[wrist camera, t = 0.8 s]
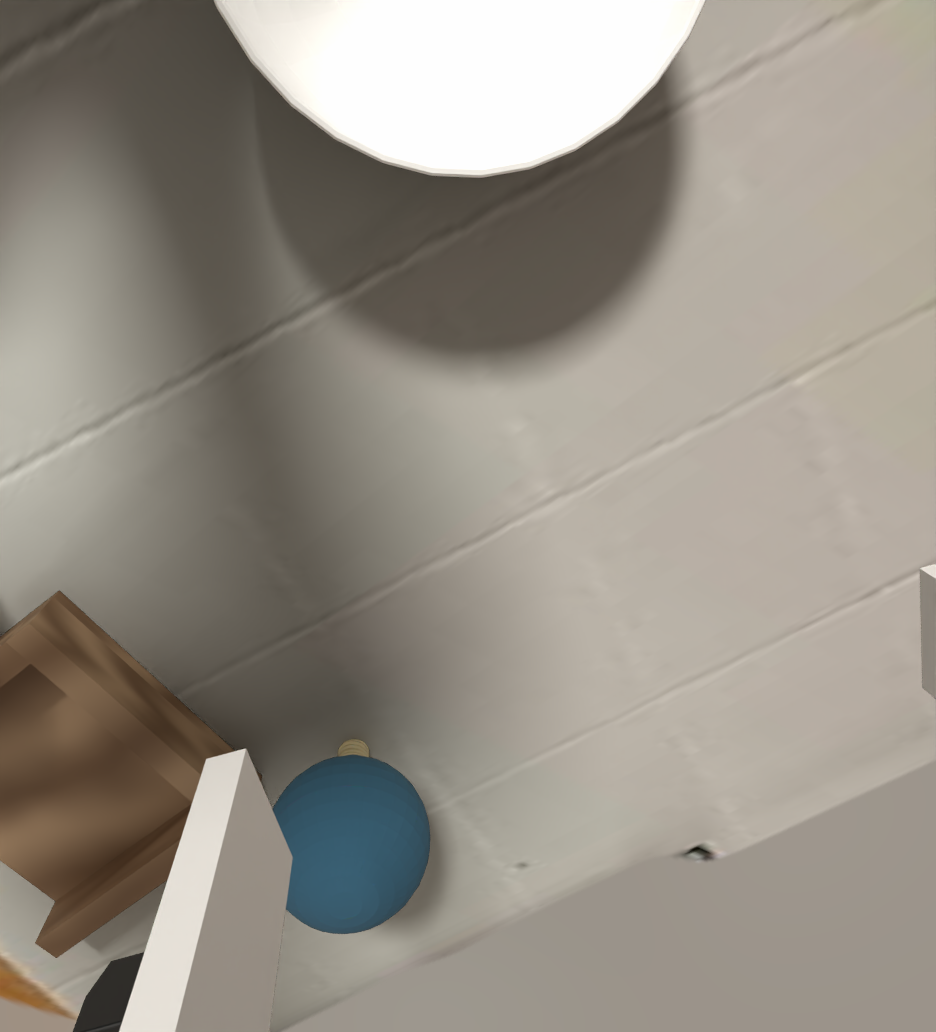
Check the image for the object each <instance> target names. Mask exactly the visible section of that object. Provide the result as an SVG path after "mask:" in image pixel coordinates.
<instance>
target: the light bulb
mask: <svg viewBox="0 0 936 1032" xmlns="http://www.w3.org/2000/svg"><path fill="white" fill-rule="evenodd" d="M273 812H274V815H275V817H276V819H277V822H278V824H279V826H280V829H281V831H282V833H283V836H284V838H285V840H286V843H287V845H288V847H289V850H290V852H291V854H292V857H293V859H292V866H291V874H290V881H289V889H288V896H287V903H286V910H287V911H289V912H290V913H291V914H292V915H293V916H294V917H296V918H297V919H298V920H300V921H301V922H302V923H304V924H306V925H308V926H310V927H311V928H314V929H317V930H320V931H323V932H328V933H335V934H348V933H357V932H361V931H365V930H368V929H371V928H373V927H375V926H378V925H380V924H381V923H383V922H384V921H386V920H387V919H389V918H390V917H392V916H393V915H395V914H396V913H397V912H398V911H399V910H400V909H401V908H402V907H403V906H405V905H406V903H407V902H408V900H409V899H410V897H411V896H412V895H413V893H414V892H415V890H416V889H417V887H418V886H419V884H420V882H421V879H422V877H423V874H424V872H425V869H426V866H427V863H428V857H429V851H430V828H429V822H428V817H427V813H426V810H425V807H424V804H423V802H422V800H421V799H420V797H419V795H418V793H417V792H416V790H415V789H414V787H413V785H412V784H411V783H410V782H409V781H408V780H407V779H406V778H405V777H404V776H403V775H402V774H401V773H400V772H398V771H397V770H396V769H394V768H393V767H391V766H390V765H388V764H386V763H384V762H382V761H379V760H377V759H374V758H369V748H368V746H367V745H366V744H365V743H364V742H362V741H360V740H356V739H352V740H348V741H345V742H344V743H342V745H341V746H340V748H339V750H338V757H334V758H330V759H327V760H324V761H321V762H319V763H317V764H315V765H313V766H311V767H310V768H309V769H307V770H306V771H304V772H303V773H301V774H300V775H299V776H297V777H296V778H295V779H294V780H293V781H292V782H291V783H290V784H289V785H288V786H287V787H286V789H285V790H284V792H283V793H282V794H281V796H280V797H279V799H278V801H277V802H276V804H275V805H274V807H273Z"/></svg>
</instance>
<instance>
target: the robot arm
mask: <svg viewBox="0 0 936 1032" xmlns="http://www.w3.org/2000/svg"><path fill="white" fill-rule="evenodd" d="M920 609H921V656H922V688H923V689H924V690H926V691H927V692H928V693H929V694H930V695H931V696H932V697H934V698H935V699H936V564H934V565H930V566H926V567H923V568H920ZM292 859H293V857H292V854H291V852H290V850H289V847H288V845H287V843H286V840H285V838H284V836H283V833H282V831H281V829H280V826H279V824H278V822H277V819H276V817H275V815H274V812H273V810H272V808H271V805H270V803H269V801H268V798H267V796H266V794H265V791H264V789H263V787H262V784H261V782H260V780H259V777H258V775H257V773H256V770H255V768H254V766H253V763H252V761H251V759H250V756H249V754H248V751H247V749H242V750H238V751H234V752H231V753H227V754H223V755H219V756H216V757H212V758H208V759H206V762H205V765H204V768H203V771H202V774H201V777H200V780H199V784H198V787H197V790H196V793H195V796H194V799H193V802H192V805H191V809H190V812H189V815H188V818H187V821H186V824H185V827H184V830H183V834H182V837H181V840H180V843H179V846H178V849H177V852H176V855H175V859H174V862H173V865H172V868H171V871H170V874H169V877H168V880H167V884H166V887H165V890H164V893H163V896H162V899H161V902H160V905H159V909H158V912H157V915H156V918H155V921H154V924H153V927H152V931H151V934H150V937H149V940H148V943H147V946H146V949H145V952H144V953H140V954H136V955H132V956H129V957H125V958H121V959H118V960H114V961H111V962H110V964H109V965H108V966H107V968H106V969H105V971H104V972H103V973H102V975H101V976H100V978H99V979H98V980H97V982H96V983H95V985H94V986H93V987H92V989H91V990H90V992H89V993H88V994H87V996H86V998H85V1000H84V1003H83V1006H82V1008H81V1011H80V1014H79V1016H78V1019H77V1022H76V1024H75V1028H74V1030H73V1032H269V1029H270V1022H271V1014H272V1007H273V1000H274V992H275V985H276V977H277V970H278V963H279V955H280V948H281V940H282V933H283V926H284V918H285V911H286V903H287V896H288V889H289V881H290V874H291V866H292Z"/></svg>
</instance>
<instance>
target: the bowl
mask: <svg viewBox="0 0 936 1032" xmlns="http://www.w3.org/2000/svg"><path fill="white" fill-rule="evenodd" d="M214 3H215V5H216V7H217V9H218V11H219V12H220V14H221V16H222V17H223V19H224V20H225V22H226V24H227V25H228V27H229V28H230V30H231V31H232V33H233V35H234V36H235V38H236V39H237V41H238V42H239V44H240V46H241V47H242V49H243V50H244V52H245V53H246V55H247V57H248V58H249V60H250V61H251V63H252V64H253V65H254V66H255V67H256V68H257V69H258V70H259V71H260V72H261V74H262V75H263V76H264V77H265V78H266V79H267V80H268V81H269V82H270V83H271V85H272V86H273V87H274V88H275V89H276V90H277V91H278V92H279V93H280V95H281V96H282V97H283V98H284V99H285V100H286V101H287V102H288V103H289V104H290V106H292V107H293V108H294V109H296V110H297V111H298V112H300V113H301V114H302V115H304V116H305V117H306V118H307V119H309V120H310V121H311V122H313V123H314V124H315V125H317V126H318V127H319V128H321V129H322V130H323V131H325V132H326V133H327V134H328V135H330V136H331V137H332V138H334V139H335V140H337V141H339V142H341V143H343V144H345V145H347V146H349V147H351V148H353V149H355V150H357V151H359V152H361V153H363V154H365V155H367V156H369V157H371V158H373V159H376V160H378V161H380V162H382V163H385V164H388V165H392V166H396V167H400V168H404V169H408V170H412V171H415V172H419V173H423V174H427V175H431V176H449V177H473V178H483V177H489V176H495V175H500V174H506V173H512V172H518V171H523V170H529V169H532V168H534V167H537V166H539V165H542V164H544V163H547V162H549V161H552V160H554V159H556V158H559V157H561V156H564V155H566V154H569V153H571V152H574V151H576V150H577V149H579V148H580V147H582V146H583V145H585V144H586V143H588V142H589V141H591V140H592V139H594V138H595V137H597V136H598V135H600V134H601V133H603V132H604V131H606V130H607V129H609V128H610V127H612V126H613V125H615V124H616V123H618V122H619V121H620V120H621V119H622V118H623V117H624V116H625V115H626V114H627V113H628V112H629V111H630V110H631V109H632V108H633V107H634V106H635V105H636V104H637V103H638V102H639V101H640V100H641V99H642V98H643V97H644V96H645V95H646V94H647V93H648V92H649V91H650V90H651V89H652V88H653V87H654V86H655V85H656V84H657V83H658V82H659V80H660V79H661V77H662V76H663V74H664V73H665V72H666V70H667V69H668V67H669V66H670V64H671V63H672V61H673V60H674V59H675V57H676V56H677V54H678V53H679V51H680V50H681V49H682V47H683V46H684V44H685V43H686V41H687V40H688V39H689V37H690V34H691V32H692V30H693V28H694V26H695V24H696V22H697V20H698V17H699V15H700V13H701V11H702V9H703V7H704V5H705V3H706V0H214Z"/></svg>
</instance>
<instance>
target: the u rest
mask: <svg viewBox="0 0 936 1032" xmlns="http://www.w3.org/2000/svg"><path fill="white" fill-rule="evenodd" d="M231 752H234V750H233V749H232V748H231V747H230V746H229V745H228V744H227V743H226V742H224V741H223V740H222V739H221V738H220V737H219V736H218V735H217V734H216V733H215V732H214V731H212V730H211V729H210V728H209V727H208V726H207V725H206V724H205V723H204V722H203V721H201V720H200V719H199V718H198V717H197V716H196V715H195V714H194V713H193V712H192V711H191V710H189V709H188V708H187V707H186V706H185V705H184V704H183V703H182V702H181V701H180V700H179V699H177V698H176V697H175V696H174V695H173V694H172V693H171V692H170V691H169V690H168V689H167V688H165V687H164V686H163V685H162V684H161V683H160V682H159V681H158V680H157V679H156V678H154V677H153V676H152V675H151V674H150V673H149V672H148V671H147V670H146V669H145V668H144V667H142V666H141V665H140V664H139V663H138V662H137V661H136V660H135V659H134V658H133V657H132V656H130V655H129V654H128V653H127V652H126V651H125V650H124V649H123V648H122V647H121V646H120V645H118V644H117V643H116V642H115V641H114V640H113V639H112V638H111V637H110V636H109V635H108V634H106V633H105V632H104V631H103V630H102V629H101V628H100V627H99V626H98V625H97V624H95V623H94V622H93V621H92V620H91V619H90V618H89V617H88V616H87V615H86V614H85V613H83V612H82V611H81V610H80V609H79V608H78V607H77V606H76V605H75V604H74V603H73V602H71V601H70V600H69V599H68V598H67V597H66V596H65V595H64V594H63V593H62V592H61V591H58V592H57V593H55V594H54V595H53V596H51V597H50V598H49V599H48V600H46V601H45V602H44V603H43V604H41V605H40V606H39V607H38V608H36V609H35V610H34V611H32V612H31V613H30V614H29V615H27V616H26V617H25V618H24V619H22V620H21V621H20V622H18V623H17V624H16V625H15V626H13V627H12V628H11V629H10V630H8V631H7V632H6V633H5V634H3V635H2V636H1V637H0V861H2V862H3V863H4V864H6V865H7V866H9V867H10V868H11V869H13V870H14V871H15V872H17V873H18V874H19V875H21V876H22V877H23V878H25V879H26V880H27V881H29V882H30V883H31V884H33V885H34V886H36V887H37V888H38V889H40V890H41V891H42V892H44V893H45V894H46V895H48V896H49V897H50V898H52V899H53V900H54V901H55V903H54V906H53V908H52V910H51V912H50V914H49V916H48V918H47V920H46V922H45V924H44V926H43V928H42V930H41V932H40V934H39V936H38V938H37V940H36V942H35V943H36V944H37V945H39V946H40V947H41V948H43V949H44V950H46V951H47V952H48V953H50V954H51V955H53V956H54V957H55V958H57V957H59V956H60V955H61V954H63V953H64V952H66V951H67V950H69V949H70V948H71V947H73V946H74V945H76V944H77V943H78V942H80V941H81V940H83V939H84V938H86V937H87V936H88V935H90V934H91V933H93V932H94V931H95V930H97V929H98V928H100V927H101V926H103V925H104V924H105V923H107V922H108V921H110V920H111V919H112V918H114V917H115V916H117V915H118V914H120V913H121V912H122V911H124V910H125V909H127V908H128V907H129V906H131V905H132V904H134V903H135V902H137V901H138V900H139V899H141V898H142V897H144V896H145V895H147V894H148V893H149V892H151V891H152V890H154V889H155V888H156V887H158V886H159V885H161V884H162V883H164V882H165V881H166V880H168V877H169V874H170V871H171V868H172V865H173V862H174V859H175V855H176V852H177V849H178V846H179V843H180V840H181V837H182V834H183V830H184V827H185V824H186V821H187V818H188V815H189V812H190V809H191V805H192V802H193V799H194V796H195V793H196V790H197V787H198V784H199V780H200V777H201V774H202V771H203V768H204V765H205V762H206V759H208V758H212V757H216V756H219V755H223V754H227V753H231ZM256 773H257V775H258V777H259V780H260V782H261V778H262V775H260V774H259V773H258V772H257V771H256Z"/></svg>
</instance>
